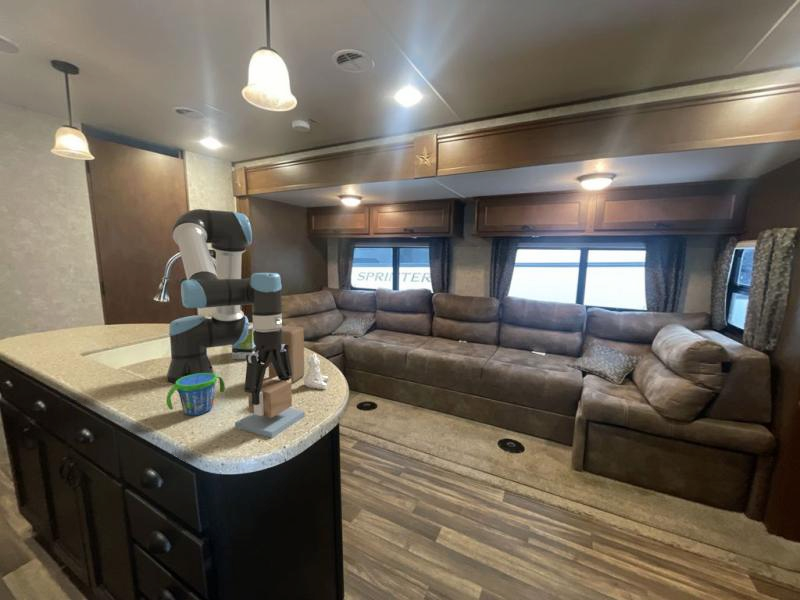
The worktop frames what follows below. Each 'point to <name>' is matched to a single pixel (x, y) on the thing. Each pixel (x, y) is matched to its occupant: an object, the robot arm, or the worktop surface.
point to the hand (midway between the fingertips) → (270, 407)
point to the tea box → (244, 346)
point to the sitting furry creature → (315, 374)
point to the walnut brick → (273, 397)
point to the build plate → (270, 422)
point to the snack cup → (196, 392)
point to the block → (292, 352)
